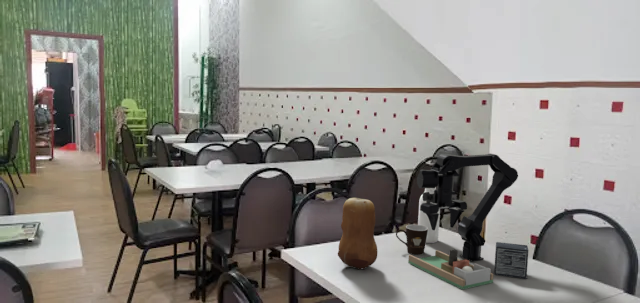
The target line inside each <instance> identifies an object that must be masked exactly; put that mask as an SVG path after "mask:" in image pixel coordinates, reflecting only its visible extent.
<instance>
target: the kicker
mask: <svg viewBox="0 0 640 303" xmlns="http://www.w3.org/2000/svg"><path fill="white" fill-rule="evenodd" d="M448 252H449V254H448V255H449V262H445V263H441V269H443V270H445V271H447V272H449V273H452V274H453V275H454V267H457V268H460V269H462V268H463V267H465V266H469V264H470V261H469V260H467V259H460V261H457V259H458V257H459V256H458V253H459V251H458V250H457V249H449V251H448Z"/></svg>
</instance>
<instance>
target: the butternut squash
mask: <svg viewBox="0 0 640 303" xmlns="http://www.w3.org/2000/svg"><path fill="white" fill-rule="evenodd" d="M341 220H342V221H341V225H340V227H341V230H342V236H341V238H340V241H339V244H338V252H337V257H338V258H339V259H340V260H341V261H342V263H343V264H344V265H345V266H347V267H350V268H354V269H356V270H365V269H367V268H368V267H370V266H372V265H373V264H374V263H375V262H376V260H377V258H378V246H377V243H376V240H375V235H374V234H375V232H374V231H375V225H376V209H375V205H374V203H373V202H372V201H371V200H369V199H365V198H359V197H350V198H347V199H346V200H345V201H344V203H343V205H342V218H341Z"/></svg>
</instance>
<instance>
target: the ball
mask: <svg viewBox="0 0 640 303" xmlns="http://www.w3.org/2000/svg"><path fill="white" fill-rule="evenodd" d="M462 270H464V271H466V272H470V271H473V269H472V268H471V267H469V266H465V267H463V268H462Z"/></svg>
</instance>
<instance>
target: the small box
mask: <svg viewBox="0 0 640 303" xmlns="http://www.w3.org/2000/svg"><path fill="white" fill-rule="evenodd" d="M529 251H530V250H529V248H528V244H527V245H526V244H516V243H511V242H510V243H509V242H499V241H496V242H495V253H494V254H495V255H494V272H493V275H495V276H501V277H509V278H517V279H523V280H526V279H528V276H527V275H528V264H529Z"/></svg>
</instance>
